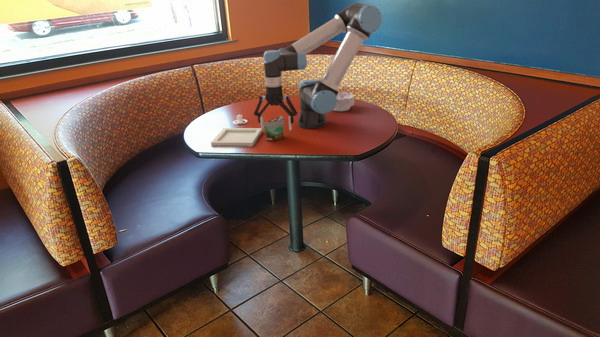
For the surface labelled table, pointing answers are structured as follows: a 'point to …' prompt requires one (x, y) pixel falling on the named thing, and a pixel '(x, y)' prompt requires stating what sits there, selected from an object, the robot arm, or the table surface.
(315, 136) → the table surface
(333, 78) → the robot arm
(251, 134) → the white square tray
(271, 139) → the food container
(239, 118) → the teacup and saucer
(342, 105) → the paper bowls
